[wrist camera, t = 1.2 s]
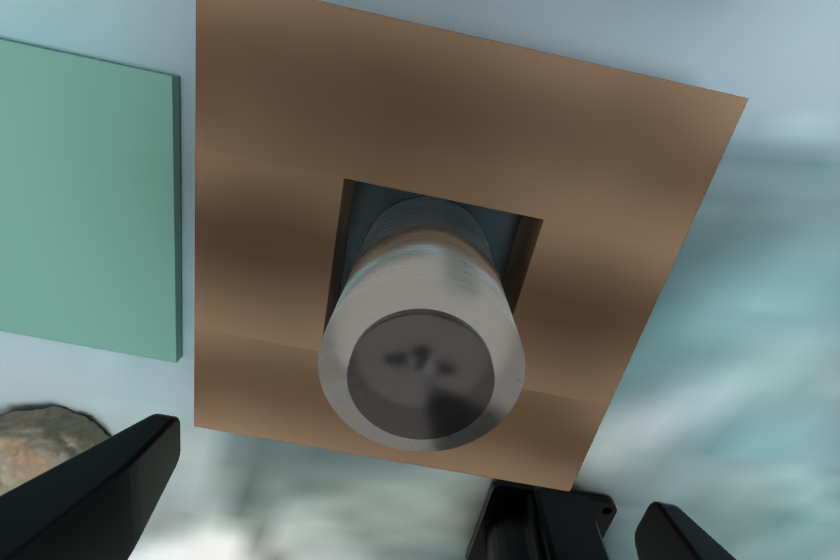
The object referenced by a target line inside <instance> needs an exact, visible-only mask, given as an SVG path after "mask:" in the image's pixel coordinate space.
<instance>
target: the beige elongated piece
mask: <svg viewBox="0 0 840 560" xmlns="http://www.w3.org/2000/svg"><path fill="white" fill-rule="evenodd" d="M108 438H110V437H109V435H107V434H105V433H104V431H103V430H102V429H101V428H100V427H99V426H97V424H96V423H95V422H93V421H90V420H89V418H88V417H86V416H83V415H80V414H77V413H74V412H73V411H71V410H68V409H64V408H62V407H58V406H50V407H48V408H44V409H40V408H36V409H33V410H31V411H13V412H10V413H8V414H5V415H0V495H2V494H4V493H6V492H8V491H10V490H12V489H14V488H16V487H17V486H19V485H21V484H23V483H25V482H27V481H29V480H31V479H32V478H34V477H36V476H38V475H40V474H42V473H44V472H46V471H48V470H49V469H51V468H53V467H55V466H57V465H59V464H61V463H63V462H64V461H66V460H68V459H70V458H72V457H74V456H76V455H78V454H80V453H81V452H83V451H85V450H87V449H89V448H91V447H93V446H95V445H96V444H98V443H100V442H102V441H104V440H106V439H108Z"/></svg>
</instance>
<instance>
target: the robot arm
mask: <svg viewBox="0 0 840 560" xmlns="http://www.w3.org/2000/svg"><path fill="white" fill-rule="evenodd" d="M179 456H180V421H179V419H178V418H177V417H174V416H169V415H163V414H154V415H151V416H149V417H147V418H145V419H143V420H142V421H140V422H138V423H136V424H134V425H132V426H130V427H128V428H127V429H125V430H123V431H121V432H119V433H117V434H115V435H113V436H111V437H110V438H108V439H106V440H104V441H102V442H100V443H98V444H96V445H95V446H93V447H91V448H89V449H87V450H85V451H83V452H81V453H80V454H78V455H76V456H74V457H72V458H70V459H68V460H66V461H64V462H63V463H61V464H59V465H57V466H55V467H53V468H51V469H49V470H48V471H46V472H44V473H42V474H40V475H38V476H36V477H34V478H32V479H31V480H29V481H27V482H25V483H23V484H21V485H19V486H17V487H16V488H14V489H12V490H10V491H8V492H6V493H4V494H2V495H0V560H128V558H129V556H130V555H131V553H132V551H133V550H134V548H135V546H136V544H137V542H138V540H139V539H140V537H141V535H142V533H143V531H144V529H145V527H146V525H147V523H148V521H149V519H150V517H151V515H152V513H153V511H154V509H155V507H156V505H157V503H158V501H159V499H160V497H161V495H162V493H163V491H164V489H165V487H166V485H167V483H168V481H169V479H170V477H171V475H172V473H173V471H174V469H175V467H176V465H177V462H178V460H179ZM500 489H503V490H500ZM616 512H617V509H616V506H615V504H614V501H613V500H612V499H611V498H608V497H602V496H596V495H591V494H585V493H579V492H573V491H570V492H569V491H563V490H557V489H552V488H546V487H540V486H535V485H529V484H523V483H517V482H512V481H506V480H500V479H499V480H496V481H494V482H493V483H492V485H491V487H490V490H489V493H488V496H487V499H486V501H485V504H484V507H483V510H482V513H481V515H480V518H479V521H478V524H477V526H476V529H475V532H474V535H473V538H472V540H471V543H470V546H469V549H468V552H467V554H466V560H610V558H609V555H608V553H607V550H606V547H605V544H604V542H603V537H604V535H605V533H606V531H607V529H608V527H609V525H610V524H611V522H612V520H613V518H614V516H615V514H616ZM635 545H636V550H637V554H638V558H639V560H736V559H735V558H734V557H733V556H732V555H731V554H729V553H728V552H727V551H726V550H725V549H724V548H723V547H722V546H721V545H719V544H718V543H717V542H716V541H715V540H714V539H713V538H712V537H711V536H710V535H708V534H707V533H706V532H705V531H704V530H703V529H702V528H701V527H700V526H698V525H697V524H696V523H695V522H694V521H693V520H692V519H691V518H690V517H688V516H687V515H686V514H685V513H684V512H683V511H682V510H681V509H680V508H678V507H677V506H675V505H673V504H668V503H662V502H653V503H651V504H650V505H649V507H648V509H647V510H646V512H645V514H644V516H643V518H642V520H641V521H640V523H639V525H638V527H637V529H636V532H635Z"/></svg>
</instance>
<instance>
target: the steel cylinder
mask: <svg viewBox="0 0 840 560" xmlns="http://www.w3.org/2000/svg"><path fill="white" fill-rule="evenodd" d="M318 372H319V379H320V382H321V386H322V389H323V391H324V394H325V396H326V398H327V400H328V402H329V403H330V405H331V407H332V408H333V409H334V411H335V412H336V413H337V414H338V416H339V417H340V418H341V419H342V420H343V421H344V422H345V423H346V424H347V425H348V426H350V427H351V428H352V429H354V430H355V431H356V432H358V433H359V434H361V435H363V436H364V437H366V438H368V439H370V440H372V441H374V442H376V443H379V444H381V445H384V446H387V447H390V448H395V449H399V450H405V451H413V452H432V451H442V450H447V449H452V448H456V447H459V446H462V445H465V444H467V443H470V442H472V441H474V440H476V439H478V438H480V437H482V436H484V435H485V434H487V433H488V432H489V431H491V430H492V429H494V428H495V427H496V426H497V425H498V424H499V423H500V422H501V421H502V420H503V419H504V418H505V417H506V416H507V415H508V413H509V412H510V411H511V409H512V408H513V406H514V404H515V403H516V401H517V399H518V397H519V394H520V392H521V389H522V385H523V382H524V375H525V356H524V351H523V346H522V343H521V340H520V337H519V334H518V331H517V328H516V325H515V322H514V319H513V316H512V313H511V310H510V307H509V304H508V301H507V298H506V295H505V292H504V289H503V287H502V284H501V281H500V278H499V275H498V272H497V269H496V266H495V263H494V260H493V257H492V254H491V251H490V248H489V245H488V242H487V239H486V236H485V234H484V232H483V230H482V228H481V226H480V225H479V223H478V222H477V221H476V219H475V218H474V217H473V216H472V215H471V214H470V213H469V212H467V211H466V210H465V209H463V208H462V207H460V206H459V205H457V204H455V203H452V202H450V201H448V200H444V199H440V198H434V197H417V198H411V199H407V200H404V201H402V202H399V203H397V204H395V205H393V206H391V207H390V208H388V209H387V210H386V211H384V212H383V213H382V214H381V215H380V216H379V217H378V218H377V219H376V220H375V222H374V223H373V224H372V226H371V228H370V230H369V231H368V234H367V236H366V238H365V240H364V243H363V245H362V247H361V250H360V252H359V254H358V257H357V259H356V261H355V263H354V266H353V268H352V270H351V273H350V275H349V277H348V279H347V282H346V284H345V286H344V289H343V291H342V293H341V296H340V298H339V300H338V302H337V305H336V307H335V309H334V312H333V314H332V316H331V318H330V321H329V323H328V325H327V328H326V330H325V332H324V335H323V338H322V340H321V343H320V348H319V353H318Z"/></svg>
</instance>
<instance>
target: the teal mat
mask: <svg viewBox="0 0 840 560" xmlns="http://www.w3.org/2000/svg"><path fill="white" fill-rule="evenodd" d="M0 331H3V332H9V333H14V334H20V335H25V336H31V337H36V338H42V339H47V340H53V341H59V342H64V343H70V344H75V345H81V346H86V347H92V348H97V349H103V350H108V351H114V352H119V353H125V354H130V355H136V356H141V357H147V358H152V359H158V360H163V361H169V362H174V363H177V361H178V360H179V359H180V358H181V357H182V315H181V198H180V82H179V76H174V75H170V74H165V73H160V72H156V71H151V70H146V69H142V68H137V67H132V66H128V65H123V64H118V63H114V62H109V61H104V60H100V59H95V58H90V57H86V56H81V55H76V54H72V53H67V52H62V51H58V50H53V49H48V48H44V47H39V46H34V45H30V44H25V43H20V42H16V41H11V40H6V39H2V38H0Z"/></svg>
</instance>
